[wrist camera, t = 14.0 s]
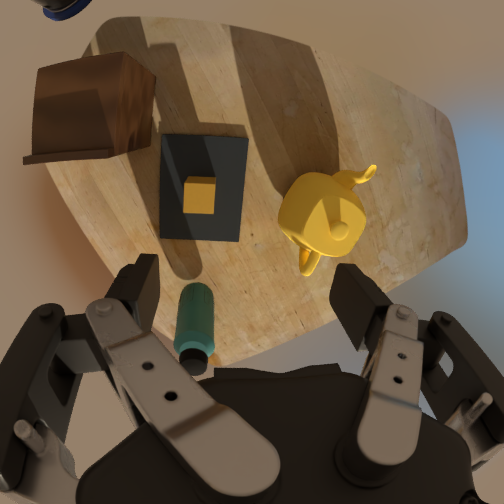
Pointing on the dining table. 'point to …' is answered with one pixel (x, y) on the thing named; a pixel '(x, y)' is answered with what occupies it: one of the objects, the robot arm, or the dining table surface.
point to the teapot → (323, 215)
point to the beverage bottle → (195, 328)
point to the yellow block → (199, 195)
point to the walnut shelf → (91, 109)
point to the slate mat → (202, 165)
